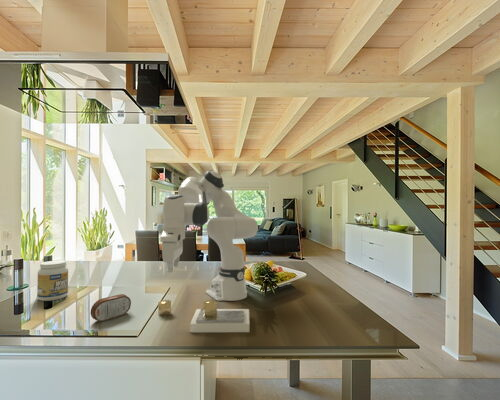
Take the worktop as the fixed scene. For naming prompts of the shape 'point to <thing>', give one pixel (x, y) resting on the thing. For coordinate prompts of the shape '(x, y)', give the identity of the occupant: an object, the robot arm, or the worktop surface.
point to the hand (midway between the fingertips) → (173, 269)
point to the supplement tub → (52, 280)
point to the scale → (221, 321)
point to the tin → (110, 307)
